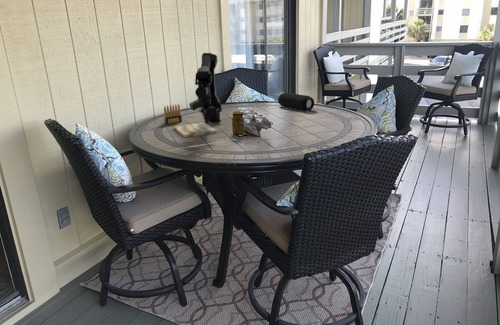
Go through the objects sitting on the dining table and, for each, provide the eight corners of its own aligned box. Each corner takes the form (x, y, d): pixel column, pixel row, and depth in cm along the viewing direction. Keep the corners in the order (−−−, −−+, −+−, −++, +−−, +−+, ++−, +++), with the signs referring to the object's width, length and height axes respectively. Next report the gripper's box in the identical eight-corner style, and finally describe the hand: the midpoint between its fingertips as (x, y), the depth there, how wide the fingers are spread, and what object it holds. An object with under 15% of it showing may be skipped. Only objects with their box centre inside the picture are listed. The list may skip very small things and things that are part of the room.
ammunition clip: (165, 126, 239) (163, 106, 235) (164, 125, 241) (162, 105, 237) (182, 123, 245) (180, 103, 241) (180, 122, 246) (179, 103, 242)
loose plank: (204, 124, 235) (204, 122, 235) (216, 132, 218) (216, 130, 218) (189, 126, 232) (189, 124, 231) (200, 134, 215) (200, 132, 214)
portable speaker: (314, 110, 269) (315, 95, 266) (305, 112, 263) (305, 97, 260) (286, 105, 288) (286, 91, 284) (277, 107, 281) (277, 93, 278)
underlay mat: (206, 125, 237) (206, 124, 237) (220, 134, 219) (220, 132, 218) (168, 131, 228) (168, 129, 228) (179, 140, 209) (179, 138, 209)
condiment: (241, 132, 222) (240, 110, 218) (248, 135, 215) (247, 113, 211) (229, 134, 219) (228, 112, 215) (235, 137, 212) (234, 115, 208)
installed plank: (189, 127, 232) (188, 124, 231) (200, 135, 215) (200, 132, 214) (173, 129, 228) (173, 126, 228) (184, 137, 211) (184, 134, 211)
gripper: (184, 93, 219) (187, 121, 224) (195, 99, 203) (198, 129, 208) (204, 91, 224) (206, 119, 229) (216, 96, 208) (218, 126, 213)
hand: (206, 123), depth 220 cm, fingers closed
